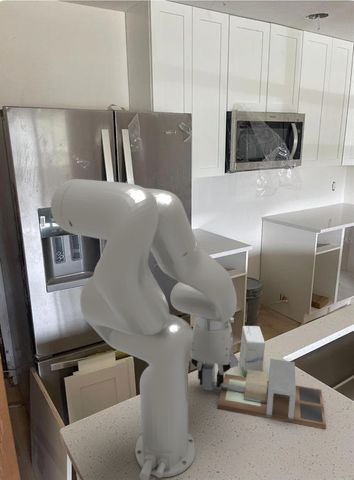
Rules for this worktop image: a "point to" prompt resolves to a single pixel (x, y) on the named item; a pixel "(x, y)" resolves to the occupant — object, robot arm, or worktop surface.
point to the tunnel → (282, 384)
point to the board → (276, 404)
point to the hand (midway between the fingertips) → (210, 382)
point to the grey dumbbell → (252, 390)
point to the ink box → (251, 349)
